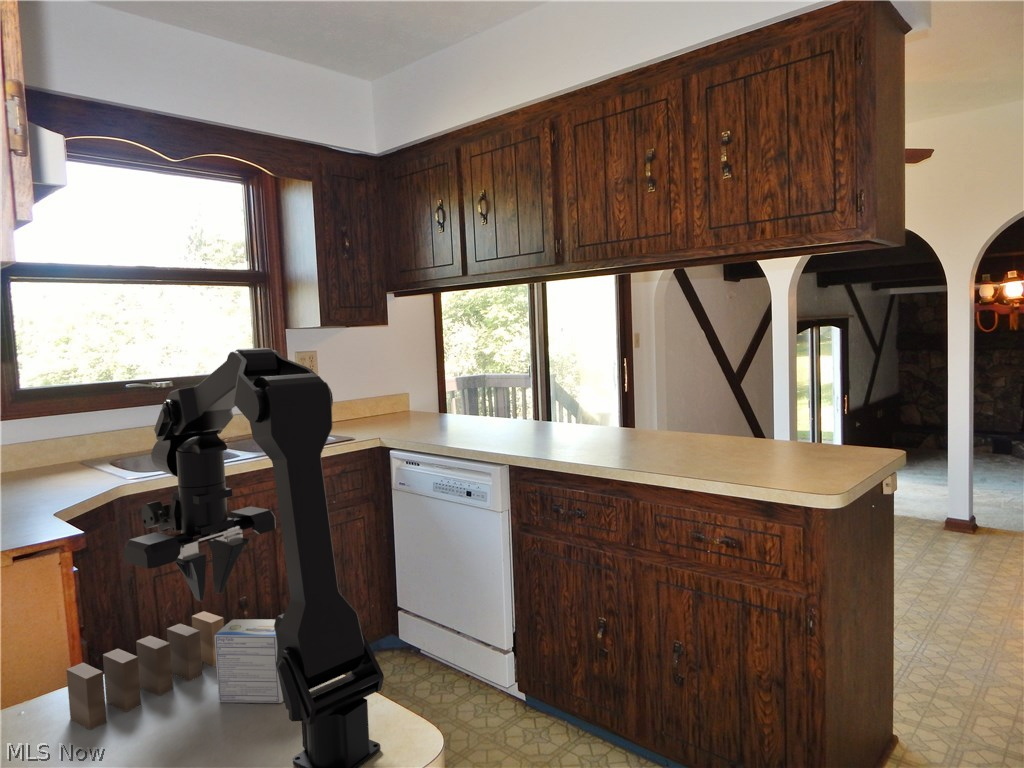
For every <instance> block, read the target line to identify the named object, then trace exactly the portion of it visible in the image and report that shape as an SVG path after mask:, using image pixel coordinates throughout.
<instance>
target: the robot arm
mask: <svg viewBox="0 0 1024 768" xmlns="http://www.w3.org/2000/svg"><path fill="white" fill-rule="evenodd" d="M333 398H334V397H333V392H332V390H331V388H330V386H329V384H328V383H327V382H326V381H325V380H323V379H322V378H321V377H320V375H318V374H317V373H316V372H315V371H314V370H312V368H310V367H307V366H305V365H302V364H299V363H298V362H295V361H292V360H290V359H288V358H286V357H284V356H283V355H282V354H281V353H280V352H279V351H277V350H275V349H272V348H269V347H259V348H258V347H257V348H238V349H236V350H235V351H230V352H229V353H228V354H227V359H226V360H225V361H224V362H223V363H222V364H221V365H220V366H219V367H217V368H216V369H215V370H214V371H212V372H211V373H210V374H209V375H208V376H207V377H205V378H204V379H203V380H202V381H201V382H200V383H199V384H197V385H196V384H195V385H193V386H192V385H191V386H187V387H181V388H177V389H174V390H172V391H170V392H169V393H168V395H167V396H166V400H164V401H163V403H162V407H161V409H160V411H159V415H158V418H157V421H156V423H155V427H154V433H155V438H156V440H157V441H156V442H155V444H154V446H153V448H152V450H151V453H150V455H151V456H150V457H151V461H152V464H153V465H154V466H155V468H157V470H159V471H160V472H163V473H165V474H168V475H171V476H173V477H177V485H178V486H177V487H178V489H177V490H176V491H172V496H171V503H169V504H166V505H163V503H162V501H160V500H157V501H152V502H148V503H144V504H142V505H141V519H142V524H143V526H144V528H145V529H147V530H148V529H150V528H155V527H157V530H158V532H157V531H156V532H152V533H148V534H144V535H141V536H137V537H134V538H129V540H128V541H127V543H126V544H125V547H123V548H124V549H123V555H124V563H128V564H131V565H134V566H138V567H140V568H141V567H142V568H144V569H155V568H160V567H162V566H165V565H168V564H172V563H174V564H176V566H177V567H178V569H179V570H180V571H181V573H182V575H183V577H184V579H185V581H186V582H187V585H188V587H189V588H190V591H191V592H192V594H193V597H194V599H195V600H196V601H198V602H203V601H204V599H205V598H204V597H205V592H206V572H207V570H206V569H207V568H206V567H207V554H206V553H203V552H200V549H199V544H202V543H204V542H206V543H207V546H208V548H209V550H210V552H211V563H212V566H211V567H212V582H213V589H214V593H215V594H218V595H220V594H222V593H223V592H224V590H225V587H226V585H227V583H228V580H229V578H230V575H231V573H232V571H233V569H234V567H235V564H236V562H237V560H238V558H239V557H240V555H241V553H242V550H243V549H244V548H245V546H246V545H249V544H250V539H249V538H244V535H243V534H244V533H243V531H244V530H247V529H250V528H251V529H252V531H253V532H255V533H256V534H258V535H262V534H264V533H269V532H271V531H274V530H276V528H277V525H276V523H277V522H276V516H275V514H274V513H273V511H272V510H271V509H267V508H262V507H255V506H251V505H250V506H247V507H242V508H240V509H236V510H231V511H230V512H229V513H228V502H227V501H228V499H227V498H230V497H233V488H229V487H226V467H225V455H224V454H225V451H228V445H227V444H226V442H225V440H222V439H221V437H219V435H221V433H222V432H223V430H224V429H226V427H227V426H228V425H229V423H231V421H232V420H233V418H234V414H233V409H234V408H235V407H236V408H237V410H239V411H240V413H242V415H243V416H244V417H245V418H246V419H247V420H248V421H249V425H250V431H251V436H252V439H253V440H254V441H255V443H256V444H257V445H258V446H259V448H260V449H261V451H262V452H264V454H265V456H267V457H268V458H269V459H270V461H271V462H272V468H273V475H274V485H275V491H276V498H277V499H276V500H277V505H278V514H279V522H280V530H281V536H282V537H281V539H282V544H283V545H282V546H283V553H284V559H285V560H284V561H285V562H284V563H285V568H286V576H287V582H288V583H287V584H288V591H289V602H288V604H287V607H286V609H285V611H284V613H282V614H279V615H277V616H276V618H275V619H274V620H275V624H274V628H275V633H276V638H277V662H276V666H277V672H278V676H279V681H280V686H281V690H282V695H283V703H284V705H285V709H286V710H288V719H289V720H290V721H291V722H301V735H302V736H301V737H302V747H303V748H304V750H302V751H301V752H300V753H298V754H297V755H294V757H293V758H292V764H293V766H295V767H298V768H360V766H362V765H363V764H364V763H366V762H368V760H369V759H371V758H372V757H373V756H375V755H376V754H378V752H380V751H381V749H382V748H381V744H380V743H379V742H377V741H375V740H372V739H370V733H369V732H370V731H369V730H370V729H369V726H370V725H369V709H368V708H369V705H368V698H367V697H368V696H371V695H373V694H374V693H379V692H380V691H382V688H383V684H384V679H385V675H384V673H383V670H382V668H381V667H380V664H379V662H378V661H377V658H376V656H375V653H374V652H373V650H372V649H371V646H370V644H369V642H368V640H367V638H366V636H365V634H364V632H363V630H362V628H361V627H362V626H361V623H360V619H359V615H358V612H357V611H356V609H355V608H354V607H353V606H352V605H351V604H350V603H349V601H348V600H347V599H346V598H345V597H344V596H343V594H342V593H341V591H340V589H339V583H338V576H337V568H336V567H337V566H336V560H335V554H334V553H335V552H334V545H333V539H332V537H333V536H332V530H331V522H330V516H329V507H328V501H327V493H326V483H325V476H324V471H323V463H322V452H323V451H324V448H325V446H326V444H327V441H328V438H329V437H330V435H331V432H332V430H333V405H334V404H333V402H334V399H333ZM169 529H170V531H172V532H178V531H179V532H180V533H179V534H174V535H167V534H164V532H167V531H168V530H169ZM348 673H349V674H348ZM340 677H341V678H340ZM336 678H338V679H336ZM332 680H333V681H332ZM330 681H331V682H330ZM326 683H327V684H326ZM323 684H324V685H323ZM318 686H319V687H318ZM316 687H317V688H316ZM314 688H315V689H314ZM312 689H313V690H312ZM310 690H311V691H310Z"/></svg>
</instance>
